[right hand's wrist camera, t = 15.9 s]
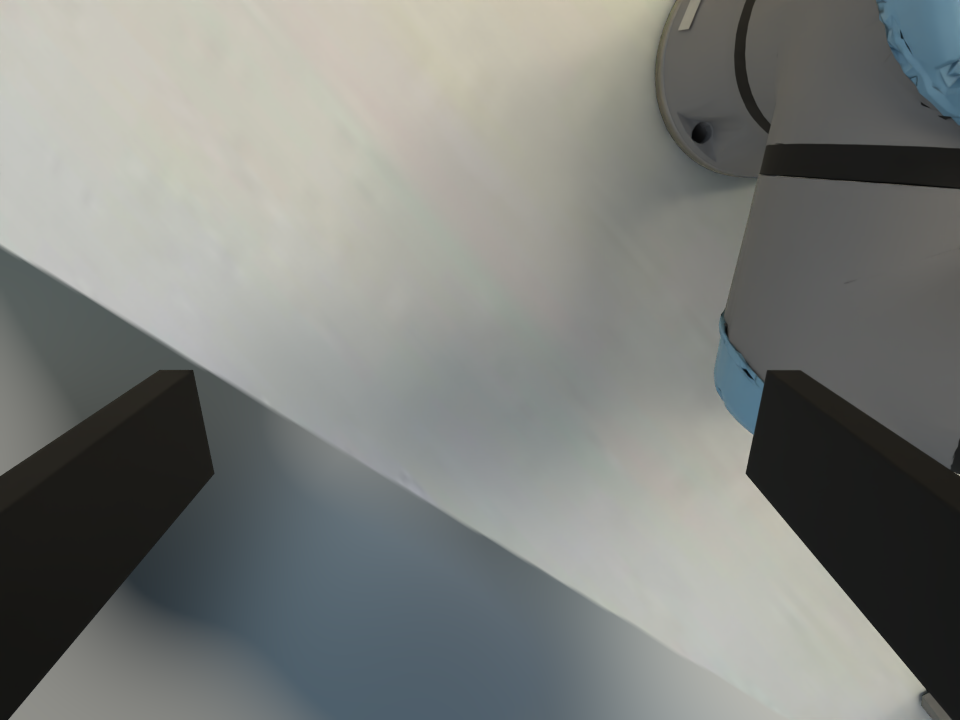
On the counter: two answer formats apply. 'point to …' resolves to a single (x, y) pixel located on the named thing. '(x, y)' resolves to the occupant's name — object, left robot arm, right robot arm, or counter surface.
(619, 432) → the counter surface
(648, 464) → the counter surface
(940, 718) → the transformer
